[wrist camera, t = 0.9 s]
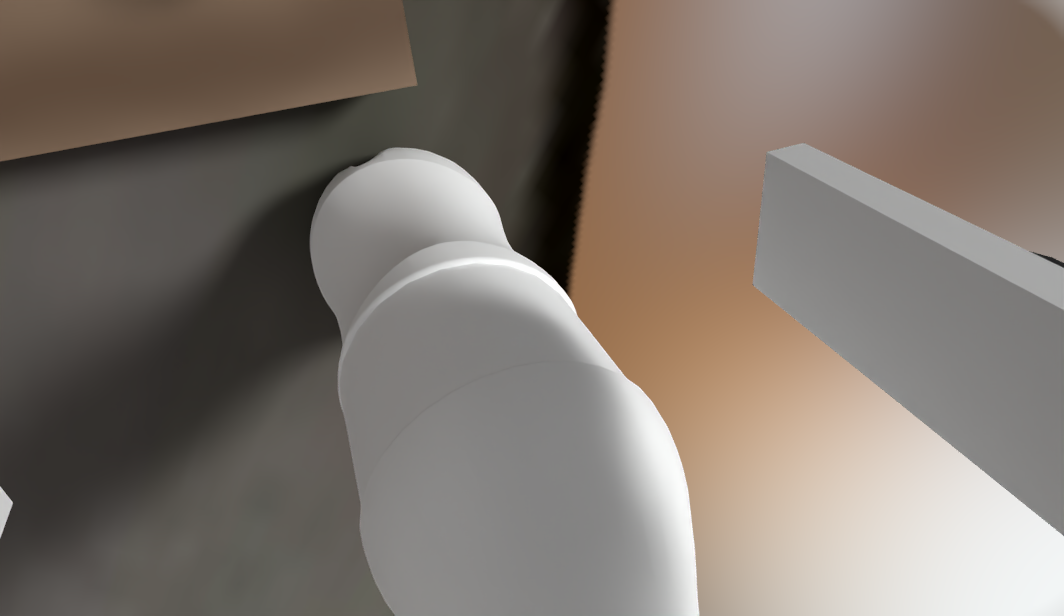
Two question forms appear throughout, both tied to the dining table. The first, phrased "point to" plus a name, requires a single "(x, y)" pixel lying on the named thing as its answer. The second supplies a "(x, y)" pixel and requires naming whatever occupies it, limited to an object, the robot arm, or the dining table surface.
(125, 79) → the brown wooden tray
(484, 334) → the water bottle
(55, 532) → the dining table surface
